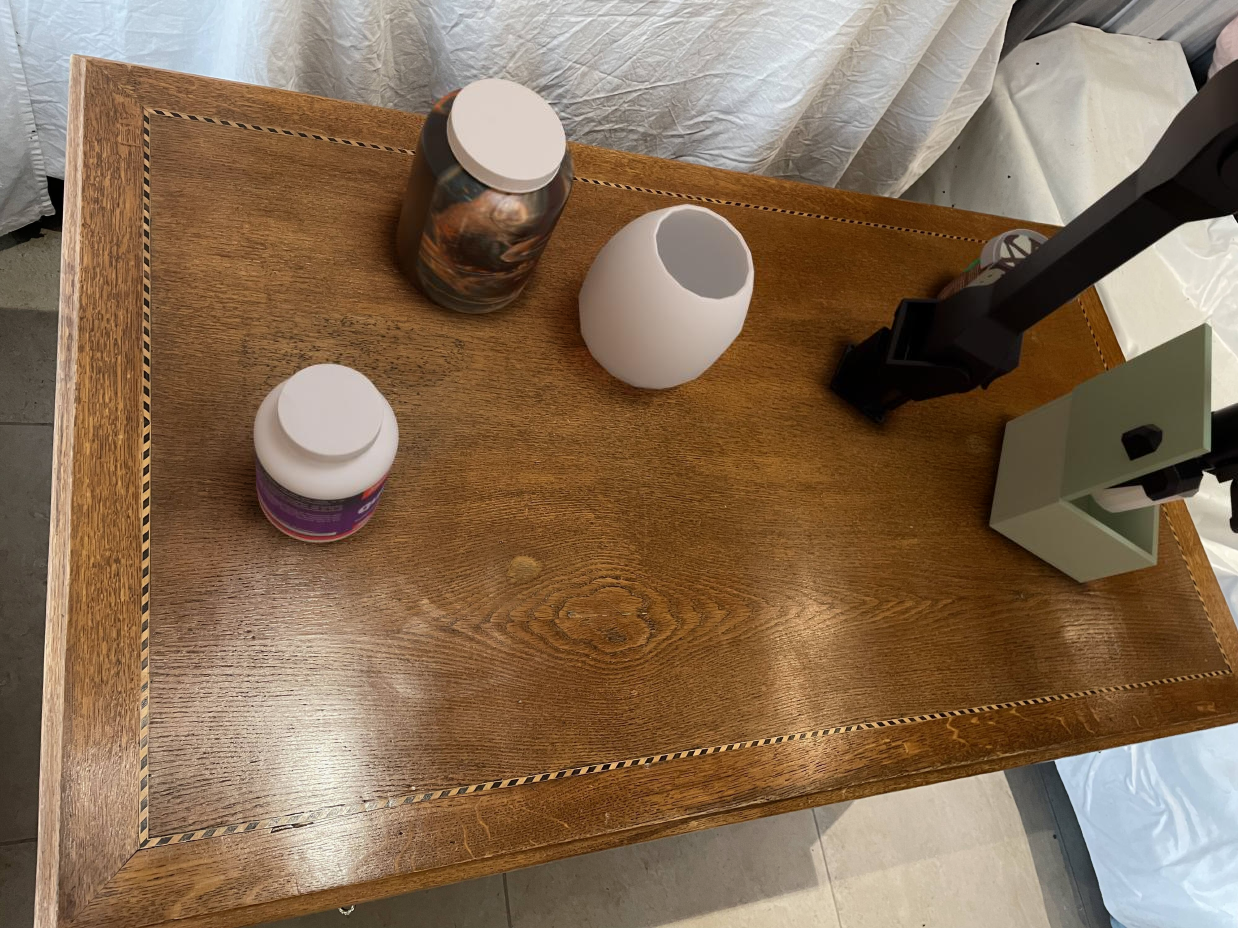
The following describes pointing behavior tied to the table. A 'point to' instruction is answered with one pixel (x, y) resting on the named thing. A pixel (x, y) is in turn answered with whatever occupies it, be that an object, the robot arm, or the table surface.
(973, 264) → the food container
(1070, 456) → the lid
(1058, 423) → the chest
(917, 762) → the table surface
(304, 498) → the pill bottle
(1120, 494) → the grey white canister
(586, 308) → the cup
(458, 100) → the jar
